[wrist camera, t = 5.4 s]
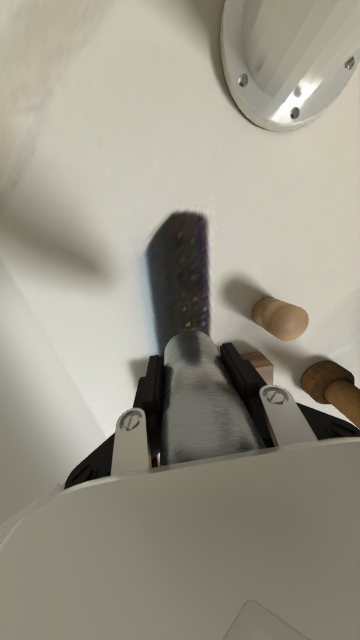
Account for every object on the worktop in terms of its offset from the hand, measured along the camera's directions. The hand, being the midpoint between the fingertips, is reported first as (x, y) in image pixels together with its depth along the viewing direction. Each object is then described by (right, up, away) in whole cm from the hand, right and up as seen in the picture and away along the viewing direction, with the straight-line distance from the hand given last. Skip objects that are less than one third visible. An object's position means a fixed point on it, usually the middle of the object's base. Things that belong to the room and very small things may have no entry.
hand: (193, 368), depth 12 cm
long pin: (0, +1, +2) cm, 2 cm away
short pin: (+11, +4, +12) cm, 17 cm away
